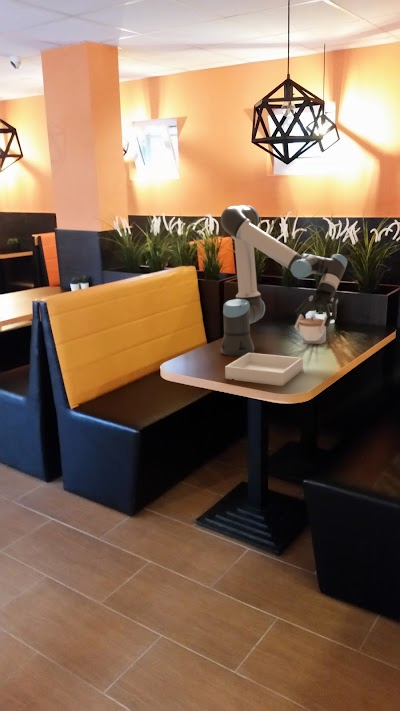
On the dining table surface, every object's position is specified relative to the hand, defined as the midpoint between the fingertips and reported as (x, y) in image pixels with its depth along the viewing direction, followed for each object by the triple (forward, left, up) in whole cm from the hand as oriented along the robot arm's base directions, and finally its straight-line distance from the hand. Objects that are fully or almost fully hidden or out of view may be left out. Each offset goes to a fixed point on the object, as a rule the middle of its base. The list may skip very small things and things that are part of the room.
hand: (308, 330), depth 242 cm
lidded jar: (0, +3, -4) cm, 5 cm away
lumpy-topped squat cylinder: (-11, +41, -15) cm, 45 cm away
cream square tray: (-12, -18, -15) cm, 26 cm away
